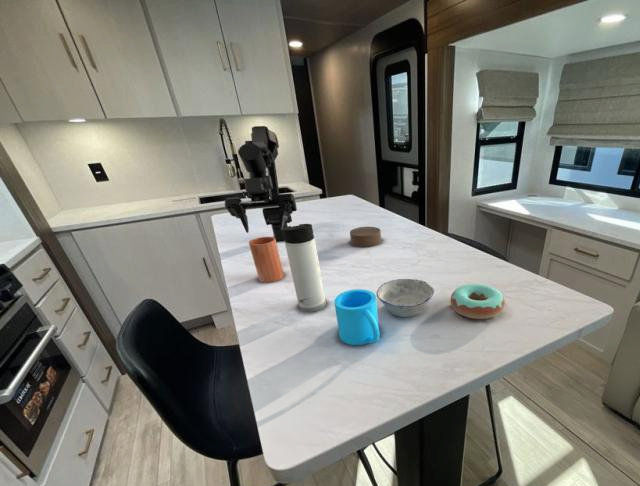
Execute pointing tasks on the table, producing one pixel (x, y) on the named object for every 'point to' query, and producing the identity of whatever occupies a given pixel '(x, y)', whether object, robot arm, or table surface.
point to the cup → (266, 259)
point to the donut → (477, 301)
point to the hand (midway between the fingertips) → (264, 230)
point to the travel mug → (304, 266)
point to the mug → (357, 317)
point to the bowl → (405, 296)
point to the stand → (365, 236)
